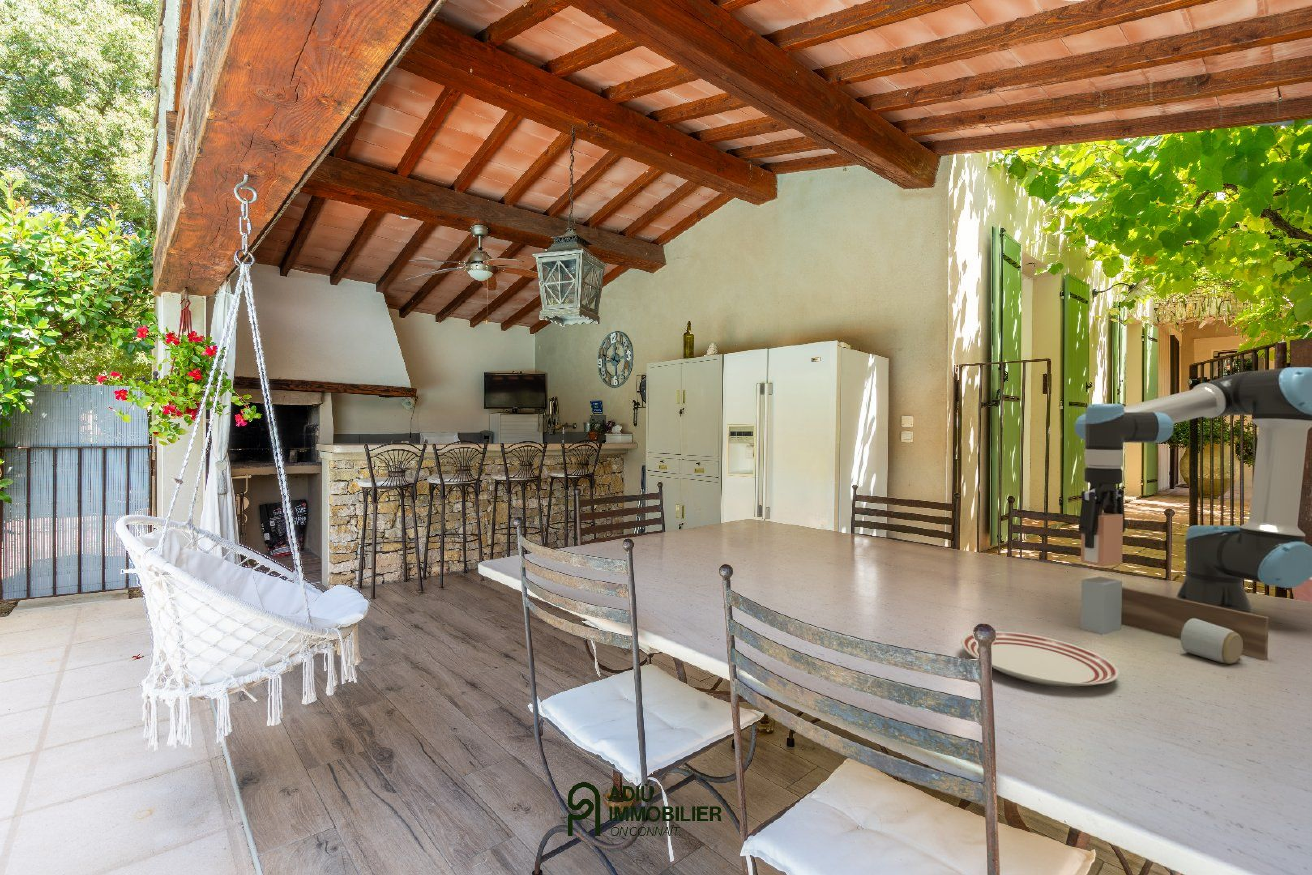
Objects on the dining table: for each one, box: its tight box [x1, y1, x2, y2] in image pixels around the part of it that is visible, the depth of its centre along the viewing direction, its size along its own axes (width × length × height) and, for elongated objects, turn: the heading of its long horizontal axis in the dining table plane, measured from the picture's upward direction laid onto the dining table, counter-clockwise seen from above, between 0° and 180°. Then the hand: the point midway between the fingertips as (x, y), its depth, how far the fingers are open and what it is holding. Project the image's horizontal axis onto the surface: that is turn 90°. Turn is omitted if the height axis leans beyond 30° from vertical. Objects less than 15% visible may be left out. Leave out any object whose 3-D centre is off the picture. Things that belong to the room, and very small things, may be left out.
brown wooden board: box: [1121, 586, 1270, 661], centre depth 145 cm, size 1×32×9 cm, turn 28°
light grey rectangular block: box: [1080, 575, 1123, 636], centre depth 150 cm, size 8×5×12 cm, turn 118°
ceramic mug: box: [1180, 618, 1243, 665], centre depth 132 cm, size 11×8×8 cm
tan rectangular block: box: [1080, 511, 1124, 568], centre depth 150 cm, size 8×5×12 cm, turn 116°
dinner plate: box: [960, 630, 1120, 687], centre depth 126 cm, size 27×27×3 cm
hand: (1101, 559), depth 150 cm, fingers closed on tan rectangular block, 8 cm apart
